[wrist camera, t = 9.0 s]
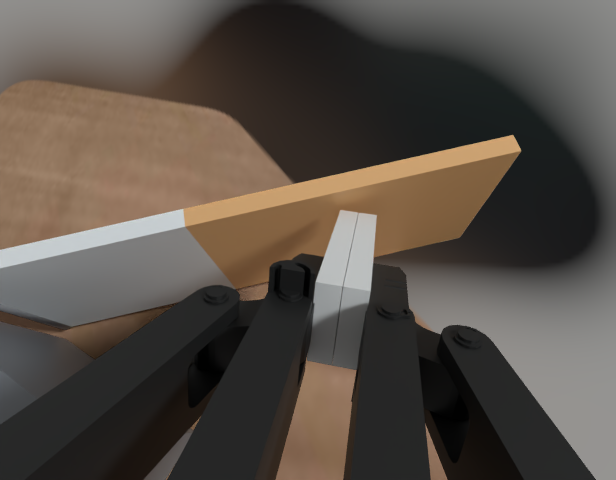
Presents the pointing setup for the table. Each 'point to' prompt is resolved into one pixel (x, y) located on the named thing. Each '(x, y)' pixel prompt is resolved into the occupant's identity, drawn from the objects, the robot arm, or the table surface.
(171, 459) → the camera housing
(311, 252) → the side door
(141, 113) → the table surface
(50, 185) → the table surface
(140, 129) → the table surface
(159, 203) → the table surface
